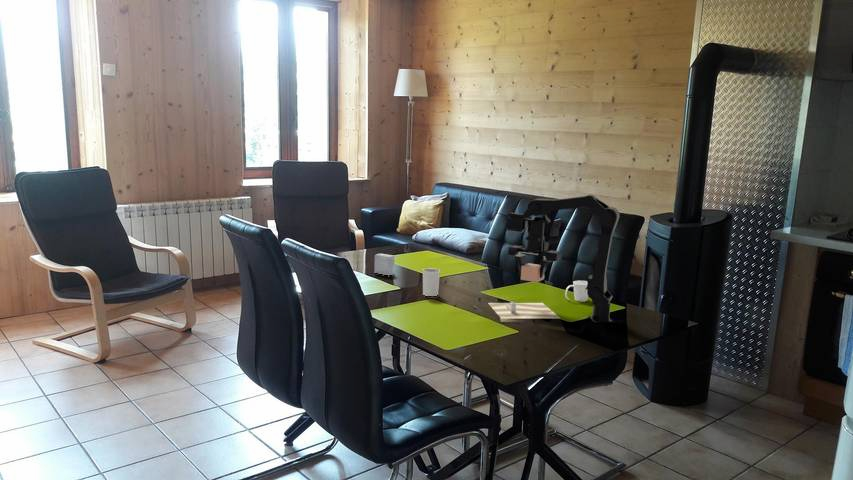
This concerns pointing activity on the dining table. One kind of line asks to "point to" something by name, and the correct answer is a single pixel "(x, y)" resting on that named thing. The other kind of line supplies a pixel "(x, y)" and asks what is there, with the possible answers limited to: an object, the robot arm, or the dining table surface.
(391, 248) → the dining table surface
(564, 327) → the dining table surface
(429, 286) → the drinking glass
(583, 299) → the cup
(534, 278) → the pink block
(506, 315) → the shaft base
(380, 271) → the medicine box
